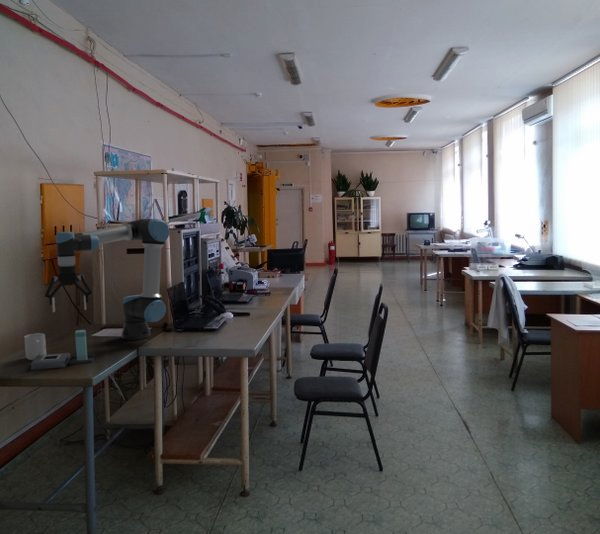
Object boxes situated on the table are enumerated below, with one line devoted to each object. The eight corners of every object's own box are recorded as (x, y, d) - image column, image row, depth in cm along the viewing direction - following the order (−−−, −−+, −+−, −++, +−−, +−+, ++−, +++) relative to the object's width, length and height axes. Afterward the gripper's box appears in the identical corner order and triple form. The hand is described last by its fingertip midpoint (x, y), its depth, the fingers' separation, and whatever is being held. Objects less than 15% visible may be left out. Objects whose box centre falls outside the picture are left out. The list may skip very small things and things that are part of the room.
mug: (24, 357, 264) (22, 335, 263) (44, 354, 269) (42, 332, 268) (29, 363, 254) (27, 339, 253) (49, 359, 260) (48, 336, 258)
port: (70, 359, 259) (69, 352, 258) (65, 368, 245) (64, 360, 245) (38, 362, 255) (37, 354, 255) (31, 371, 242) (30, 363, 242)
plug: (87, 358, 258) (85, 329, 256) (86, 361, 254) (84, 331, 252) (78, 359, 257) (76, 330, 255) (76, 362, 253) (74, 332, 251)
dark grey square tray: (95, 357, 261) (94, 354, 261) (92, 363, 252) (92, 359, 251) (72, 359, 259) (72, 355, 259) (69, 365, 249) (68, 361, 249)
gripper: (95, 263, 261) (98, 307, 263) (38, 265, 253) (41, 311, 255) (95, 264, 254) (98, 309, 256) (36, 267, 246) (39, 314, 248)
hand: (69, 310), depth 256 cm, fingers open, 13 cm apart
